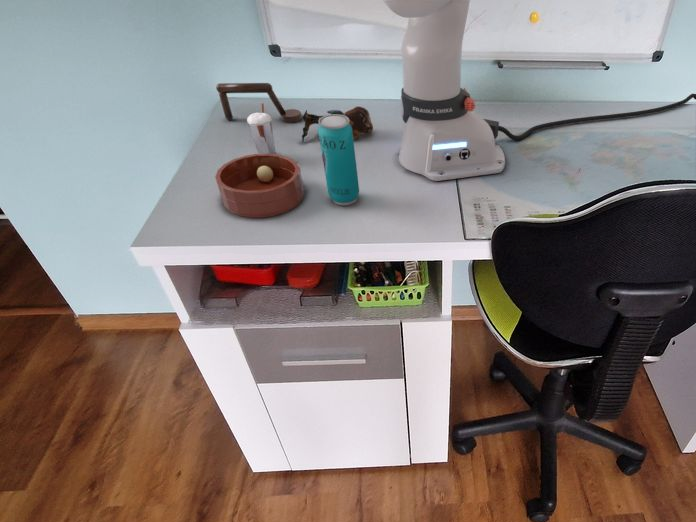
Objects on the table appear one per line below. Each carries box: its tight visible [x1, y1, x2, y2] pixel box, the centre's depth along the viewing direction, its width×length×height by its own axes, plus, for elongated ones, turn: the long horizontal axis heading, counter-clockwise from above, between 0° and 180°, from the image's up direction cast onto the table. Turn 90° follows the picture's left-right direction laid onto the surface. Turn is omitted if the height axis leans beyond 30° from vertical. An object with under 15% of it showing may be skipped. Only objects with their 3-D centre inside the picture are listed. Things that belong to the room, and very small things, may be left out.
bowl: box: [214, 153, 305, 219], centre depth 100 cm, size 15×15×5 cm
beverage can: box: [317, 114, 360, 207], centre depth 96 cm, size 6×6×15 cm
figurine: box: [301, 106, 374, 143], centre depth 119 cm, size 8×16×6 cm, turn 98°
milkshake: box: [246, 102, 277, 154], centre depth 109 cm, size 4×5×10 cm
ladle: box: [215, 82, 303, 124], centre depth 122 cm, size 17×4×8 cm, turn 98°
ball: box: [257, 166, 273, 182], centre depth 103 cm, size 3×3×3 cm
